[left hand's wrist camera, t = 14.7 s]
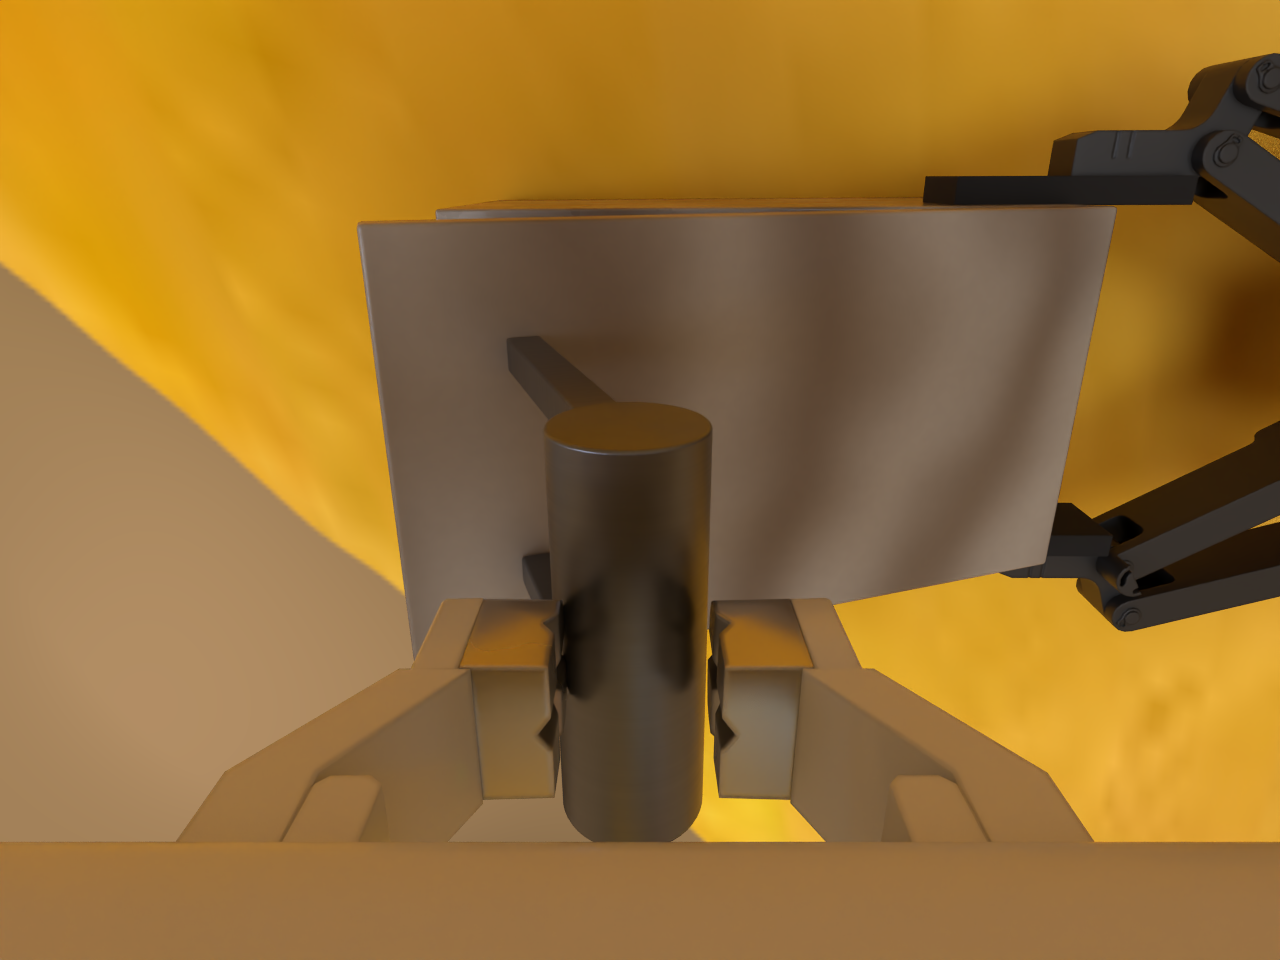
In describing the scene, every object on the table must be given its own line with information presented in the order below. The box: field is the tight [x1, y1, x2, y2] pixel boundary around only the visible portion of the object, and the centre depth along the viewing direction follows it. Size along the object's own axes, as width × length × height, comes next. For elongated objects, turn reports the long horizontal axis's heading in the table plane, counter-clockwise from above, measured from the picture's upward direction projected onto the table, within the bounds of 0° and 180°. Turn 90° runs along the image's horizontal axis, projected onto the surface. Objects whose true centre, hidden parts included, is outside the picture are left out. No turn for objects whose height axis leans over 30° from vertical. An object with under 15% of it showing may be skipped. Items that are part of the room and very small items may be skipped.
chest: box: [436, 197, 1079, 220], centre depth 27 cm, size 17×10×10 cm, turn 90°
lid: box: [357, 205, 1117, 842], centre depth 16 cm, size 18×10×9 cm, turn 90°
